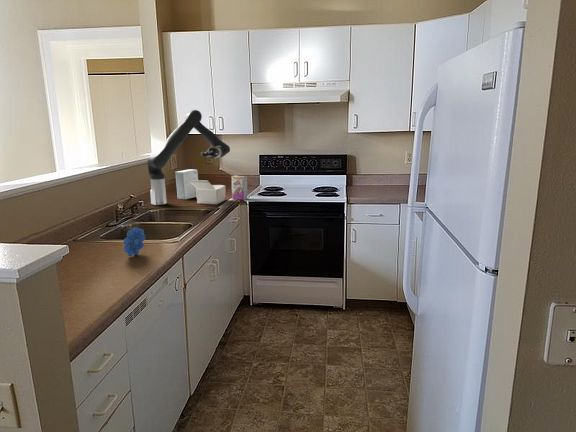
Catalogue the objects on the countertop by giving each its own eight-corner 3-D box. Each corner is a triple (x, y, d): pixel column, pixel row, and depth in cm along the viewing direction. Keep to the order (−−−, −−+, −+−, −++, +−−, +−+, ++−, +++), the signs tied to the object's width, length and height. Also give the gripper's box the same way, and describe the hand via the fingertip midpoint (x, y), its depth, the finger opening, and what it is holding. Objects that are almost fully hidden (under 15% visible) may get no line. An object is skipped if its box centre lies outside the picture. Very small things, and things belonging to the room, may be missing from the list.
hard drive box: (192, 195, 317) (190, 169, 312) (199, 196, 313) (198, 169, 309) (176, 198, 304) (175, 171, 299) (184, 199, 300) (183, 172, 296)
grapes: (138, 249, 185) (136, 223, 182) (150, 251, 182) (147, 225, 179) (117, 257, 175) (114, 229, 172) (129, 259, 172) (126, 231, 169)
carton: (217, 204, 283) (217, 189, 281) (196, 203, 286) (195, 188, 284) (226, 199, 299) (225, 185, 297) (206, 199, 302) (205, 184, 300)
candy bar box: (231, 198, 303) (230, 176, 299) (236, 197, 307) (235, 175, 304) (243, 200, 297) (242, 177, 293) (248, 199, 301) (247, 176, 298)
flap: (214, 189, 280) (207, 181, 267) (196, 188, 283) (188, 180, 270) (214, 188, 280) (207, 180, 267) (196, 188, 283) (188, 179, 270)
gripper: (205, 147, 293) (194, 149, 277) (223, 147, 290) (213, 149, 274) (205, 157, 295) (195, 160, 279) (223, 158, 292) (213, 160, 276)
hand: (204, 154), depth 276 cm, fingers closed
